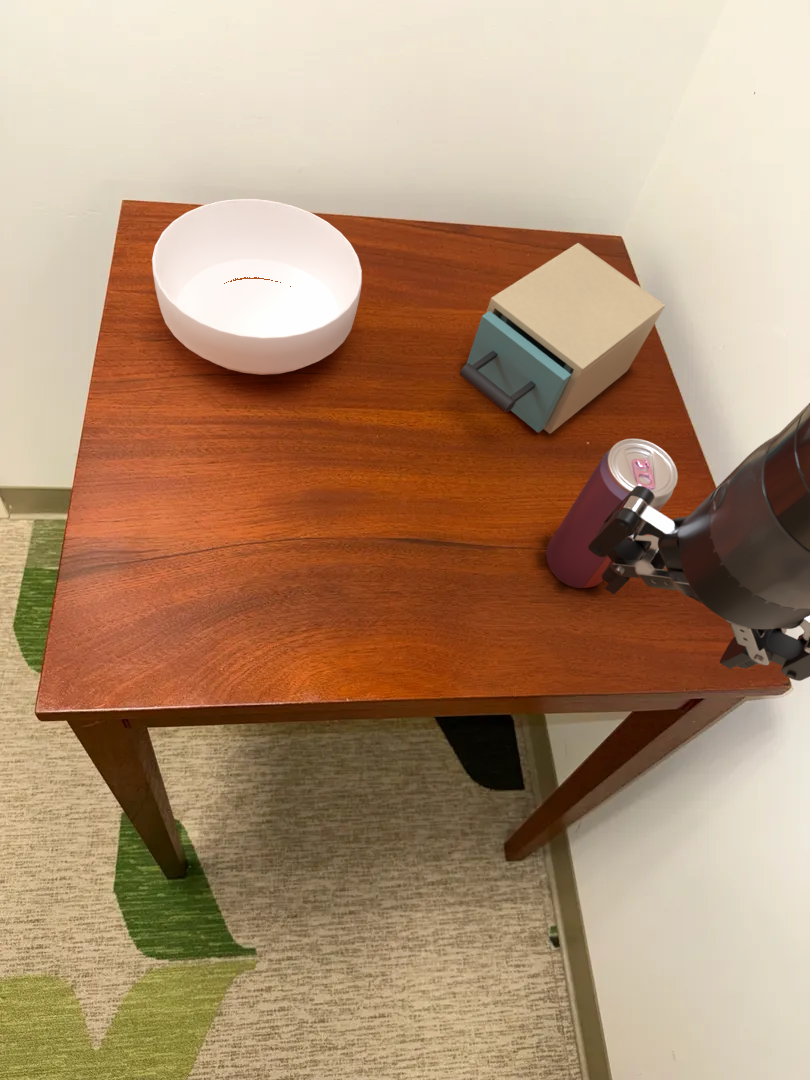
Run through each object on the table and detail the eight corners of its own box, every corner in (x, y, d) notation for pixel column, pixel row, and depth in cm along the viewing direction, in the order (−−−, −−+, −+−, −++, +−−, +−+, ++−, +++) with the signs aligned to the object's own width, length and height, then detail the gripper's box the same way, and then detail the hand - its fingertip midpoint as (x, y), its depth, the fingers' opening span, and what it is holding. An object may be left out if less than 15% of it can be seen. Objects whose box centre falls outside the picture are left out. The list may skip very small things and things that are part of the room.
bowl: (185, 252, 84) (179, 182, 77) (362, 284, 86) (372, 219, 79) (139, 383, 74) (126, 316, 67) (341, 417, 76) (350, 355, 68)
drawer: (509, 456, 75) (533, 403, 69) (433, 392, 78) (449, 336, 72) (612, 373, 84) (642, 319, 77) (540, 318, 87) (564, 262, 80)
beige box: (549, 434, 79) (583, 368, 71) (467, 367, 82) (490, 297, 74) (627, 371, 86) (665, 305, 78) (549, 311, 89) (578, 242, 81)
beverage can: (548, 589, 69) (613, 496, 56) (540, 533, 72) (600, 433, 60) (610, 593, 70) (688, 501, 57) (599, 537, 73) (671, 439, 61)
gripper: (969, 550, 35) (794, 632, 50) (694, 392, 38) (606, 515, 53) (906, 684, 33) (743, 727, 48) (619, 506, 36) (550, 600, 51)
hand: (671, 616), depth 51 cm, fingers open, 8 cm apart
